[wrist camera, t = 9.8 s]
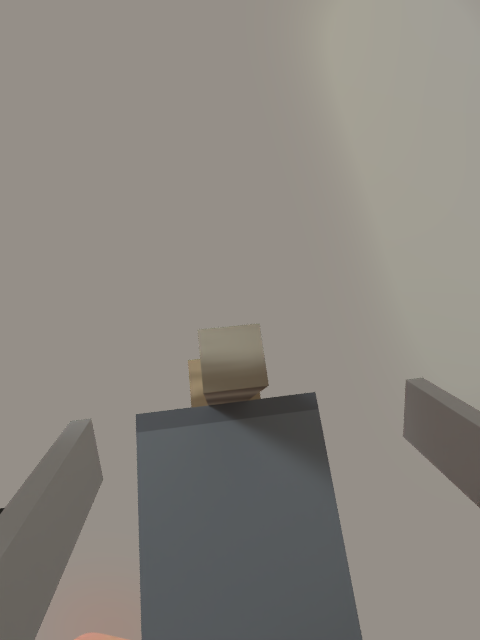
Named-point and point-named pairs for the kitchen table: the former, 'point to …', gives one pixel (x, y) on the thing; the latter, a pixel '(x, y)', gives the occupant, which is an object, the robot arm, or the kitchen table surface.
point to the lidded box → (240, 525)
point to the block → (228, 366)
